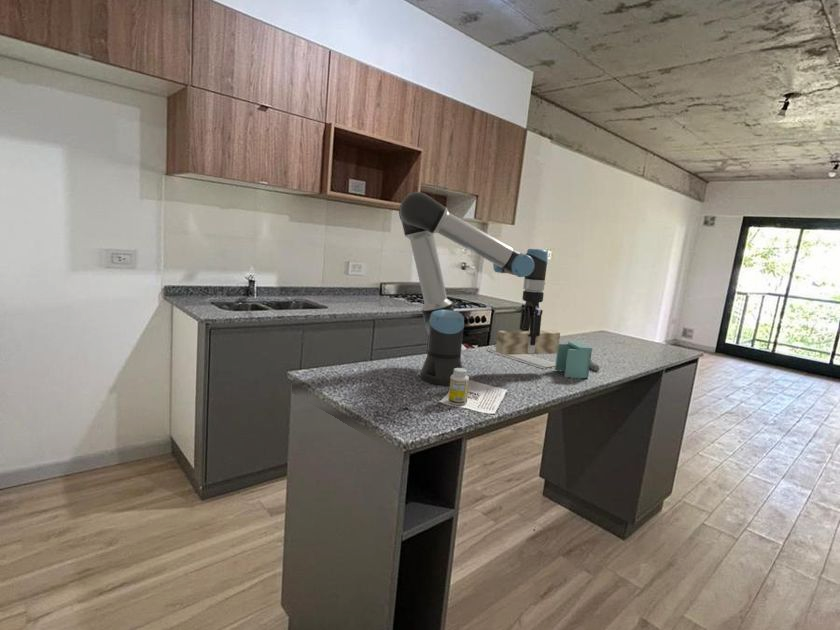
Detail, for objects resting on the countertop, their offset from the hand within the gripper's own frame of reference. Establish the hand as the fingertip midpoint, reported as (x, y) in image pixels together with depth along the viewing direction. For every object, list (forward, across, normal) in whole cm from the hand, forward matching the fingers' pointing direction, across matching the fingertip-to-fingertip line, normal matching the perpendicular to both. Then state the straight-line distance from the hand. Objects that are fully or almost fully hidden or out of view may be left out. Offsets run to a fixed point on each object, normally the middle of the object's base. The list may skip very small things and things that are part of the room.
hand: (527, 351), depth 173 cm
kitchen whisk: (+9, +18, -35) cm, 40 cm away
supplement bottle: (+8, -32, +36) cm, 49 cm away
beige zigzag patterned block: (+1, 0, 0) cm, 1 cm away
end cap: (+9, -1, -19) cm, 21 cm away
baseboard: (+9, +20, -7) cm, 24 cm away
